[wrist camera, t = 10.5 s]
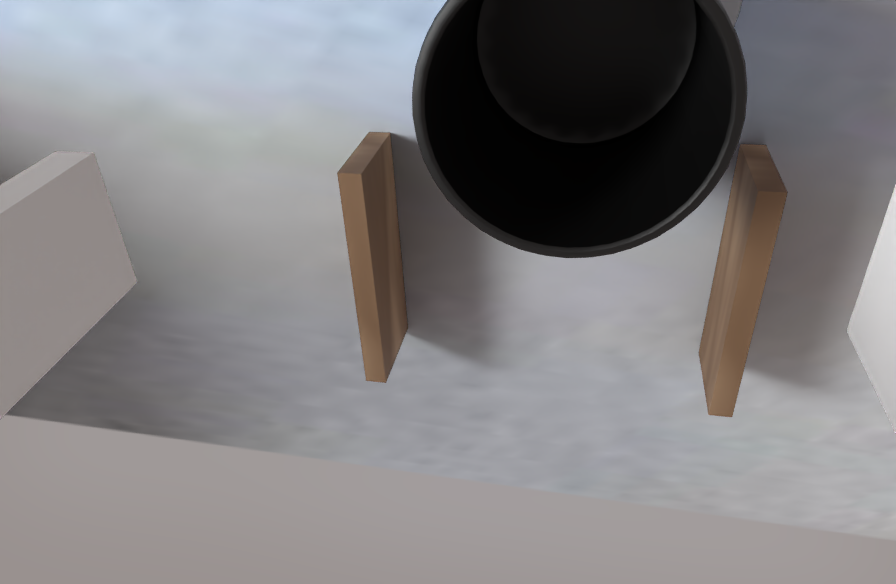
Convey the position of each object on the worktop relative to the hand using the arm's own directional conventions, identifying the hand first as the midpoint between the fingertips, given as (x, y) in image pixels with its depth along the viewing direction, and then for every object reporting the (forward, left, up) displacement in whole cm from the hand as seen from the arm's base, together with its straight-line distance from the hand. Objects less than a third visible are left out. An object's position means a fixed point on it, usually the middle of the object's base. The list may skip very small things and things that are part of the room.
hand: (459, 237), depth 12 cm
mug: (+1, 0, -19) cm, 19 cm away
